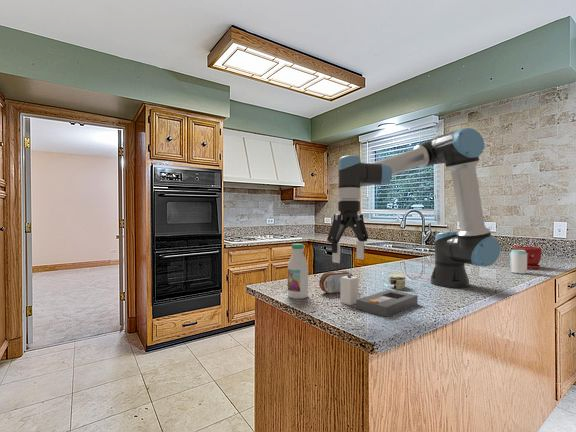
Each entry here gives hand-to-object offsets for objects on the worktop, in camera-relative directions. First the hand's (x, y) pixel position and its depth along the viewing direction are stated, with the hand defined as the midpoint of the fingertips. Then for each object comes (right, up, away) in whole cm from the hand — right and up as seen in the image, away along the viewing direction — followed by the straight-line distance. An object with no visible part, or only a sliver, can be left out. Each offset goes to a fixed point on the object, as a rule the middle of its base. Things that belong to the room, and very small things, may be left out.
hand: (348, 260), depth 110 cm
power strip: (+12, -15, -4) cm, 20 cm away
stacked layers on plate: (+25, -15, +22) cm, 37 cm away
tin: (-2, -15, +14) cm, 21 cm away
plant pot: (+114, -14, +67) cm, 134 cm away
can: (+98, -14, +52) cm, 112 cm away
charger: (0, -15, 0) cm, 15 cm away
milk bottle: (-18, -15, +8) cm, 25 cm away
